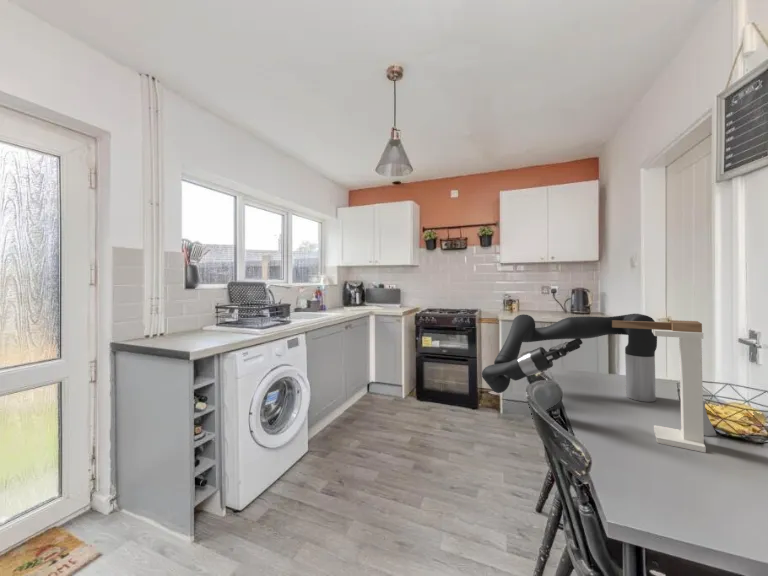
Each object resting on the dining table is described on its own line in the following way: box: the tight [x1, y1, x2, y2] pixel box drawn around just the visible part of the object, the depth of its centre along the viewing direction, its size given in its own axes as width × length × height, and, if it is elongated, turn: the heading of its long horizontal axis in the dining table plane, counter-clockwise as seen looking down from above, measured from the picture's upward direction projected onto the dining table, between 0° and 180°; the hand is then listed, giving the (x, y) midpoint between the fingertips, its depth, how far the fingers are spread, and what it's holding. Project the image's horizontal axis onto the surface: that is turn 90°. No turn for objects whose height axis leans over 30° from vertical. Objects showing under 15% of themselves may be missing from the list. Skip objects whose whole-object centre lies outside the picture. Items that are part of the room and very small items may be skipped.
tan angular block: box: [612, 319, 703, 333], centre depth 97 cm, size 7×20×2 cm, turn 54°
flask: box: [703, 398, 717, 437], centre depth 99 cm, size 7×7×10 cm
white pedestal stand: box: [652, 329, 707, 454], centre depth 94 cm, size 10×10×32 cm
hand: (580, 342), depth 108 cm, fingers open, 8 cm apart
